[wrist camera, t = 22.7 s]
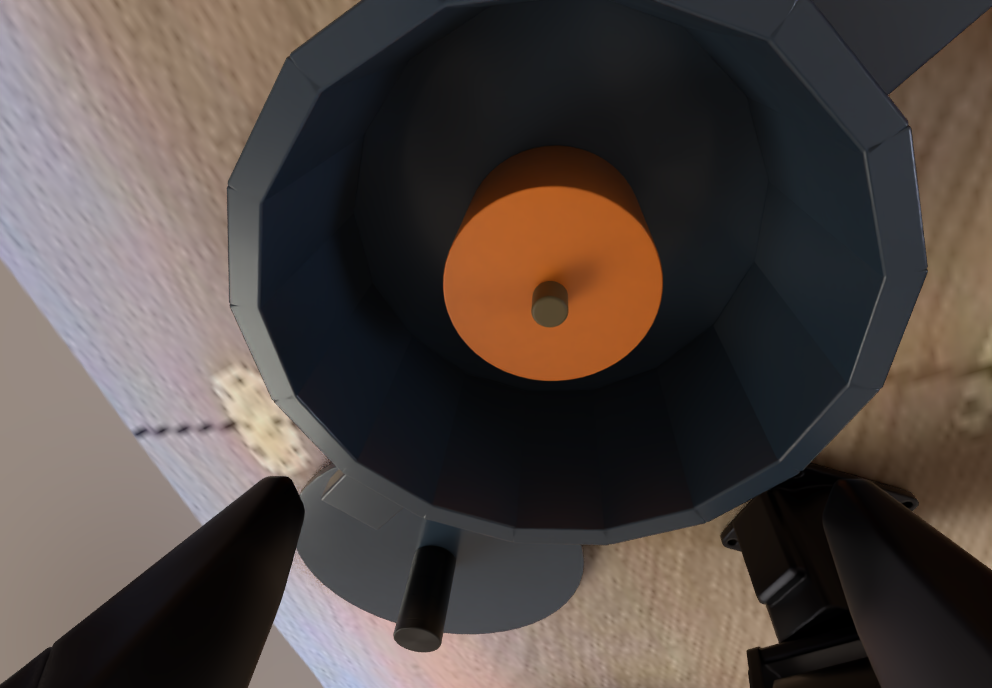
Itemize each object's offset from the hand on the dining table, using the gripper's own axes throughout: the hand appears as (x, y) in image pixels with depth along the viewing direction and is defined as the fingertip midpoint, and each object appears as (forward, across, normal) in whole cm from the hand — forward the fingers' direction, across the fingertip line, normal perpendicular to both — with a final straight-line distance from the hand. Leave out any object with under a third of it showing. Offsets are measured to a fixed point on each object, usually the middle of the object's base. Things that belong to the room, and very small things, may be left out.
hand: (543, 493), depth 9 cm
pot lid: (+11, +7, +18) cm, 23 cm away
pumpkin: (+12, 0, 0) cm, 12 cm away
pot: (+12, 0, 0) cm, 12 cm away
